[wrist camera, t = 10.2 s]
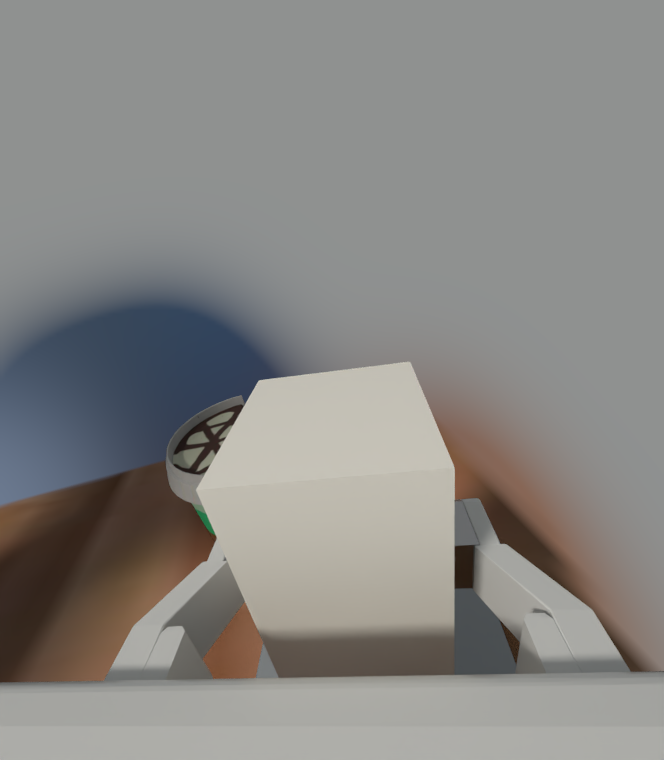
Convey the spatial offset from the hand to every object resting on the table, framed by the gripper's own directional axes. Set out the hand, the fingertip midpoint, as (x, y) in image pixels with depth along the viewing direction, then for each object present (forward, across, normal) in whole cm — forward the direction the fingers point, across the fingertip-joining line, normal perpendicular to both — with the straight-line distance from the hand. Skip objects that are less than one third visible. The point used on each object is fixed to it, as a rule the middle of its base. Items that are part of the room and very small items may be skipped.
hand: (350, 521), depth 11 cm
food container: (+13, -12, -14) cm, 23 cm away
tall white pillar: (0, 0, -6) cm, 6 cm away
